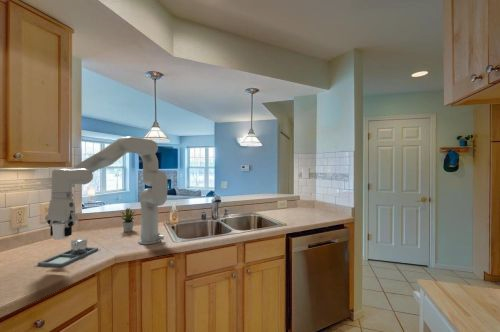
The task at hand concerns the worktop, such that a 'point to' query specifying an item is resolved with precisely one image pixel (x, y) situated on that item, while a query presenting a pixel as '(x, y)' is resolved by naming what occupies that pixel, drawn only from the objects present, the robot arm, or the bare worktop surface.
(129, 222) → the house plant
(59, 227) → the white cylinder
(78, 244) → the block
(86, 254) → the divided tray
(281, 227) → the worktop surface
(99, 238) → the worktop surface
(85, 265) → the worktop surface
